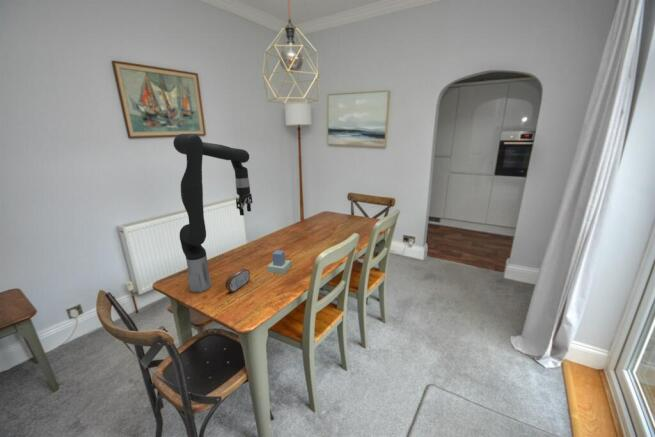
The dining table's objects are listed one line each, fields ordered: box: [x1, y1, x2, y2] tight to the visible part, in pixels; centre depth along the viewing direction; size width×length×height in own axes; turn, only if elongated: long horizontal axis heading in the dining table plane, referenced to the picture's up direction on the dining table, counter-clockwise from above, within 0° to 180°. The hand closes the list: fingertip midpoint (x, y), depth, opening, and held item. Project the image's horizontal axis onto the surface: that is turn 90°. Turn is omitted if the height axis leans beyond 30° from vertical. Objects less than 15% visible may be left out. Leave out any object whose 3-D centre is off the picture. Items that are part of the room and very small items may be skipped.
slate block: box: [272, 249, 286, 266], centre depth 159 cm, size 5×5×7 cm
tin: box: [224, 268, 251, 292], centre depth 142 cm, size 15×3×8 cm, turn 153°
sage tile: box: [266, 259, 292, 275], centre depth 161 cm, size 10×10×4 cm
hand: (245, 213), depth 165 cm, fingers open, 8 cm apart
